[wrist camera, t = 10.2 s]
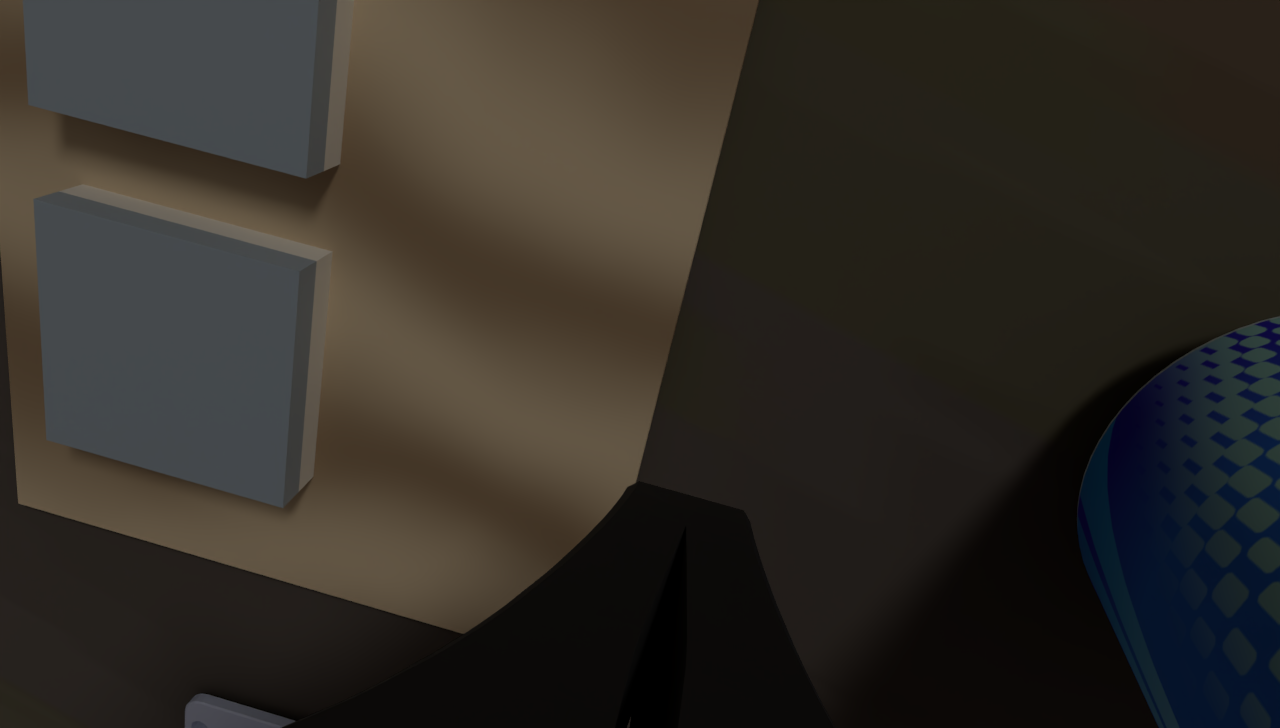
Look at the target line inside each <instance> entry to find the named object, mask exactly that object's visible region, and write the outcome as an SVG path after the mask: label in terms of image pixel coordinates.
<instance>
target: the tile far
mask: <svg viewBox="0 0 1280 728" xmlns="http://www.w3.org/2000/svg"><path fill="white" fill-rule="evenodd" d="M33 201H34V219H35V238H36V256H37V275H38V293H39V312H40V330H41V349H42V367H43V386H44V405H45V423H46V440H48V441H52V442H55V443H59V444H62V445H66V446H69V447H73V448H76V449H80V450H83V451H86V452H90V453H93V454H97V455H100V456H104V457H107V458H111V459H114V460H118V461H121V462H125V463H128V464H132V465H135V466H138V467H142V468H145V469H149V470H152V471H156V472H159V473H163V474H166V475H170V476H173V477H177V478H180V479H184V480H187V481H190V482H194V483H197V484H201V485H204V486H208V487H211V488H215V489H218V490H222V491H225V492H229V493H232V494H236V495H239V496H242V497H246V498H249V499H253V500H256V501H260V502H263V503H267V504H270V505H274V506H277V507H281V508H284V507H285V505H286V504H287V503H288V502H289V501H290V500H291V499H292V498H293V497H294V496H295V495H296V494H297V493H298V492H299V491H300V490H301V489H302V488H303V487H304V486H305V485H306V484H307V483H308V482H309V481H310V480H311V479H312V478H313V476H314V464H315V452H316V441H317V429H318V417H319V405H320V394H321V382H322V370H323V359H324V347H325V335H326V323H327V312H328V300H329V288H330V276H331V265H332V253H333V252H332V251H329V250H325V249H321V248H318V247H314V246H310V245H306V244H303V243H299V242H295V241H292V240H288V239H284V238H280V237H277V236H273V235H269V234H266V233H262V232H258V231H255V230H251V229H247V228H243V227H240V226H236V225H232V224H229V223H225V222H221V221H217V220H214V219H210V218H206V217H203V216H199V215H195V214H192V213H188V212H184V211H180V210H177V209H173V208H169V207H166V206H162V205H158V204H154V203H151V202H147V201H143V200H140V199H136V198H132V197H129V196H125V195H121V194H117V193H114V192H110V191H106V190H103V189H99V188H95V187H92V186H88V185H84V184H82V185H79V186H75V187H72V188H69V189H65V190H62V191H59V192H55V193H52V194H49V195H45V196H42V197H39V198H35V199H33Z"/></svg>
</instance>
